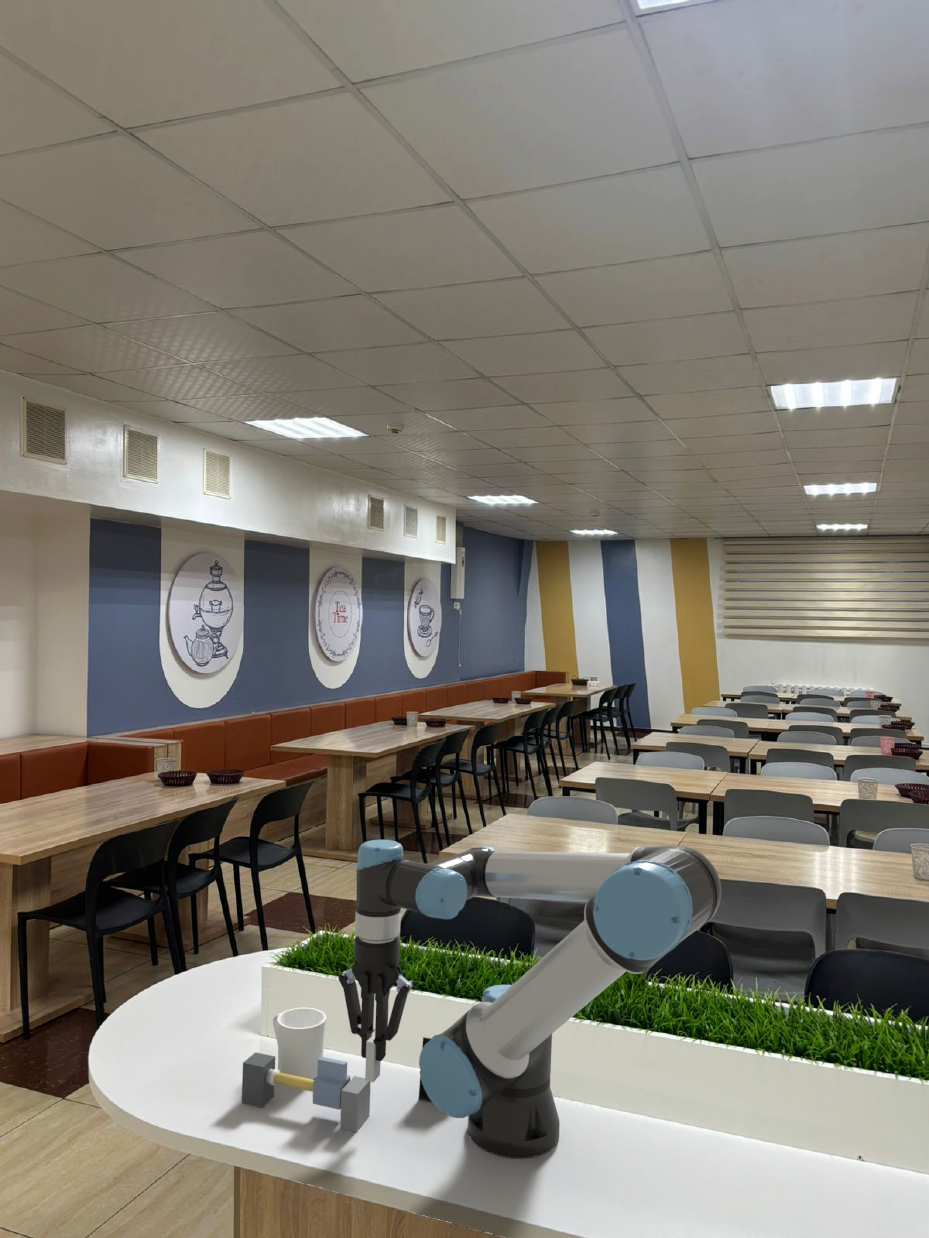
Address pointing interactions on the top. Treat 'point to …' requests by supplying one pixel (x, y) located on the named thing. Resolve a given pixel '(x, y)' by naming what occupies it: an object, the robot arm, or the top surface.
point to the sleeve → (330, 1082)
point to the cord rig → (265, 1076)
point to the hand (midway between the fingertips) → (372, 1077)
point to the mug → (300, 1041)
